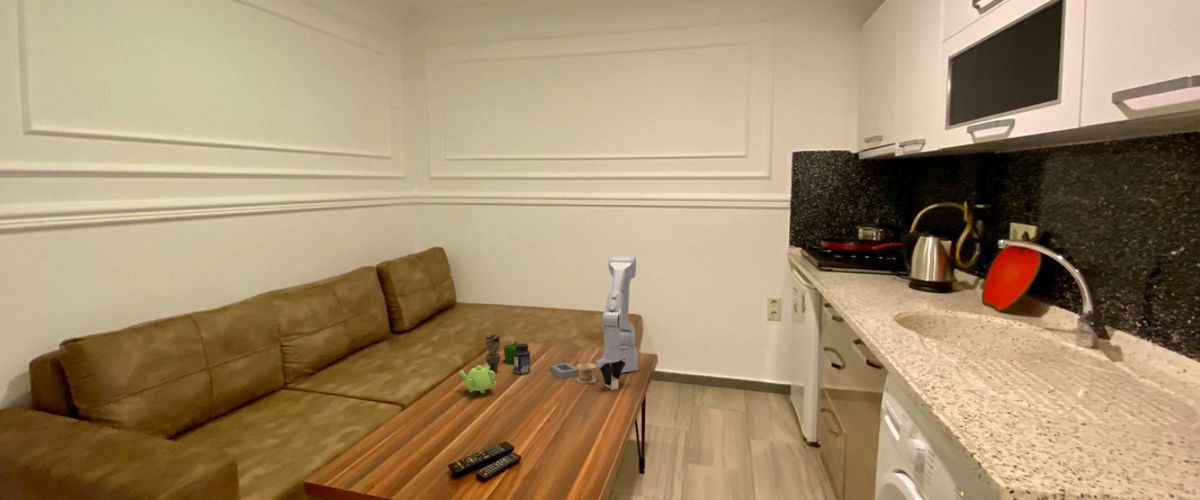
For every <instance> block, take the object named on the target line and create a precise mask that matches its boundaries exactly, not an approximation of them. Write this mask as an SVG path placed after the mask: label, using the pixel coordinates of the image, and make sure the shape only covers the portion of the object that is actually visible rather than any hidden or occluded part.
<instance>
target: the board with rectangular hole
mask: <svg viewBox="0 0 1200 500" xmlns="http://www.w3.org/2000/svg"><path fill="white" fill-rule="evenodd" d="M549 371H550V372H551V373H552V374H554V376H555V377H556V378H558V379H559V380H562V379H563V380H564V379H568V378H574V377H580V370H578V369H577V366H574V365H573V364H571V363H569V362H564V363H557V364H550V365H549Z"/></svg>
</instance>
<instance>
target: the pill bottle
mask: <svg viewBox="0 0 1200 500" xmlns="http://www.w3.org/2000/svg"><path fill="white" fill-rule="evenodd" d="M513 370H514V371H513V373H514V374H515V375H517V376H518V375H519V376H523V375H524V376H525V374H526V375H528V374H530V373H531V351H530V350H529V344H528V343H525V342H523V343H520V342H519V344H517V343H516V351H515V352H514V364H513Z"/></svg>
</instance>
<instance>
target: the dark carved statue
mask: <svg viewBox="0 0 1200 500" xmlns="http://www.w3.org/2000/svg"><path fill="white" fill-rule="evenodd" d="M500 342H501V340H500V335H498V334H494V333H493V334H492V333H491V334H489V335H485V346H486V347H485V350H486V351H488V353H487V354H486V355H485V362H486V364H487V365H488V366H490V369H489V371H490V370H491V371H493V372H494V373H496V372H497V371H498V365H499V363H500V361H501V354H500V353H499V352H498V351H499V350H500V348H501V347H500V345H501V343H500Z"/></svg>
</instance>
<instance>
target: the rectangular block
mask: <svg viewBox="0 0 1200 500" xmlns="http://www.w3.org/2000/svg"><path fill="white" fill-rule="evenodd" d="M619 381H620V379H619V380H618V379H616V378H615V377H613V376H612V377H611V385H606V384H605V383H604V384H605V385H604V386H605V387H606V388H608V389H610V390H612V391H613V390H618V389H619Z"/></svg>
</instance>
